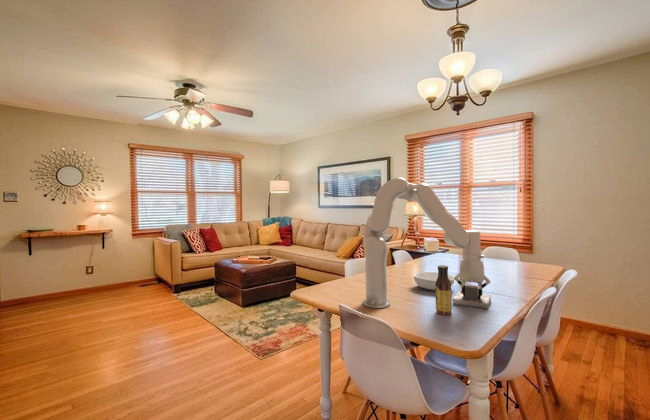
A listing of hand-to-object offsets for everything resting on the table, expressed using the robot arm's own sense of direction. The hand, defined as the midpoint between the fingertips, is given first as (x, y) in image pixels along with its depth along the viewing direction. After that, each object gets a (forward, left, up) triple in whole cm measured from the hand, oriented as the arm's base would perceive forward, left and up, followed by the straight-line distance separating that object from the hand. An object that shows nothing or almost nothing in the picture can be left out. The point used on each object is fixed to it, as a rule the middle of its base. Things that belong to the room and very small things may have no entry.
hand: (471, 295), depth 141 cm
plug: (0, 0, -3) cm, 3 cm away
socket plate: (0, 0, -3) cm, 3 cm away
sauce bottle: (-21, +8, -3) cm, 23 cm away
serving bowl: (+16, +21, -3) cm, 27 cm away
